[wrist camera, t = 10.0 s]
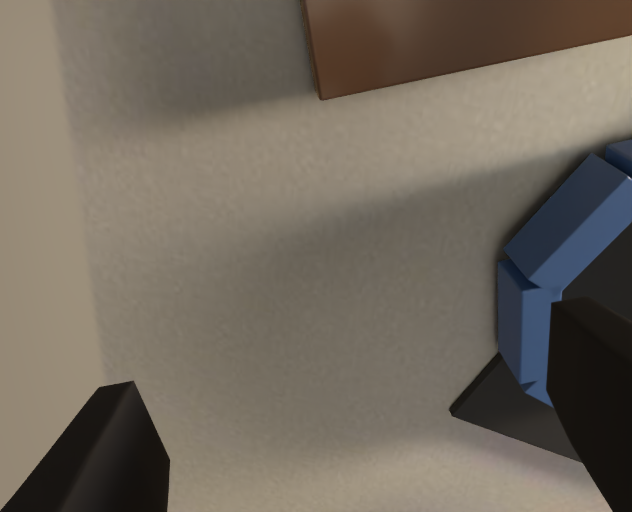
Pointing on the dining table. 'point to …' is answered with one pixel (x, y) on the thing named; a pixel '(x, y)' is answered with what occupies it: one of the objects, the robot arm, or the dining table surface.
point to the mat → (503, 388)
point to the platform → (443, 36)
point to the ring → (558, 258)
